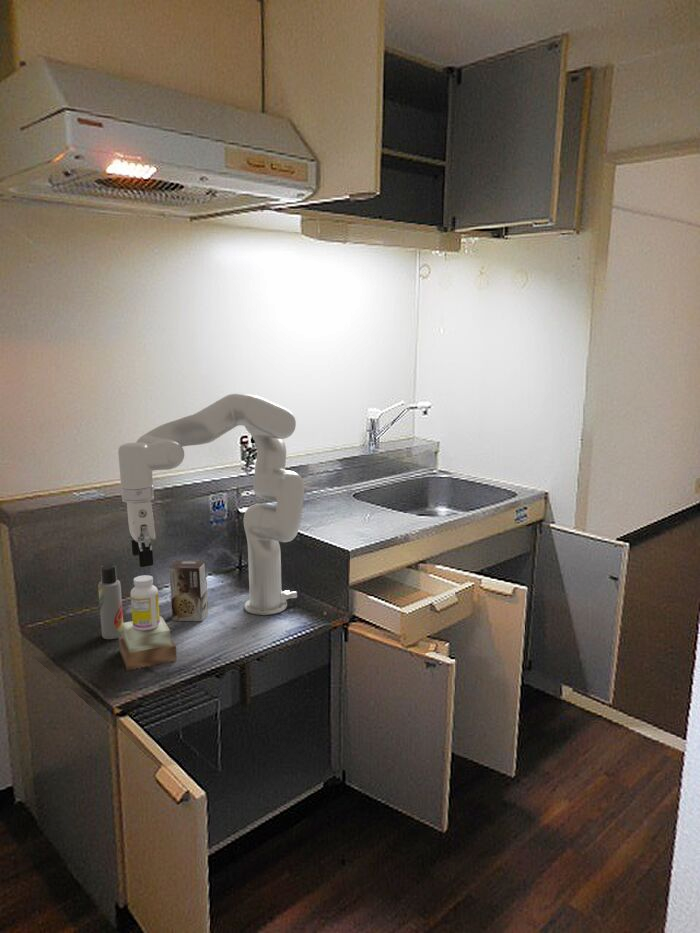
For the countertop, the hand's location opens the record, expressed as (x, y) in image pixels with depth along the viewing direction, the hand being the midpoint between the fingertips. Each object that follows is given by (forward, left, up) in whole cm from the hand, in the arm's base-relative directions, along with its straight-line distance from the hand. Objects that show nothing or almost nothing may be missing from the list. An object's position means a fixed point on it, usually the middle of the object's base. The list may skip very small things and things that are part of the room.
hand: (142, 560), depth 181 cm
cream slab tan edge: (0, 0, -26) cm, 26 cm away
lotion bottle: (+6, -17, -26) cm, 31 cm away
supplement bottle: (0, 0, -18) cm, 18 cm away
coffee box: (-16, -20, -26) cm, 36 cm away
